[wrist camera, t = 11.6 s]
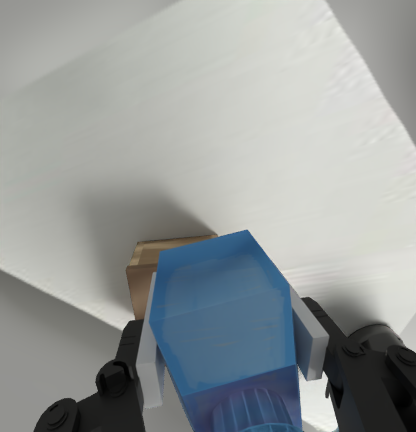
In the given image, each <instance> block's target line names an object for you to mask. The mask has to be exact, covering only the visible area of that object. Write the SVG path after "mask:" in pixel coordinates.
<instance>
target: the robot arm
mask: <svg viewBox="0 0 416 432" xmlns="http://www.w3.org/2000/svg"><path fill="white" fill-rule="evenodd" d="M271 261H272V260H271ZM273 264H274V263H273ZM274 265H275V264H274ZM276 268H277V267H276ZM277 269H278V268H277ZM279 272H280V271H279ZM280 273H281V272H280ZM281 274H282V273H281ZM282 276H283V275H282ZM283 277H284V276H283ZM284 278H285V277H284ZM155 279H156V272H153V275H152V280H151V285H150V291H149V296H148V302H147V307H146V312H145V318H144V319H140V320H132V321H129V322H128V324H127V325H126V326H125V328H124V330H123V333H122V337H121V340H120V344H119V348H118V351H117V354H116V358H115V359H114V360H111V361H109V362H108V363H106V364H105V365H104V366H103V367H102V368H101V369H100V371H99V372H98V374H97V376H96V382H95V383H96V386H97V389H98V392H97V393H95V394H93V395H91V396H90V397H87V398H86V399H83V400H81V401H79V402H77V403H76V401H75V400H73V399H71V398H64V399H61V400H59V401H57V402H55V403H54V404H52V405H51V406H50V407H48V409H47V410H46V411H45V412H44V413H43V414H42V415H41V417H40V419H39V421H38V422H37V424H36V427H35V429H34V432H146V431H145V426H144V421H143V416H142V412H143V404H144V406H145V409H149V408H154V407H160V406H162V405H163V387H164V370H165V362H164V359H163V357H162V354H161V352H160V349H159V347H158V344H157V342H156V339H155V337H154V334H153V332H152V329H151V327H150V325H149V316H150V310H151V304H152V297H153V291H154V285H155ZM286 281H287V280H286ZM287 282H288V281H287ZM289 285H290V284H289ZM290 295H291V305H292V315H293V326H294V336H295V346H296V357H297V364H298V366H299V368H300V370H301V372H302V374H303V375H304V377H305V379H306V381H311V380H317V379H321V378H322V373H323V371H324V372H325V374H326V375H327V377H328V382H327V387H326V392H325V396H326V398H328V397H329V393H330V397H331V401H332V404H333V408H334V412H335V416H336V419H337V423H338V428H337V429H336V430H334V431H332V432H416V353H415V352H414V351H412V350H410V349H408V348H406V346H405V345H404V344H403V341H402V340H401V338H400V337H399V336H398V335H397V334H396V333H395V332H394V331H393V330H392V329H390V328H389V327H387V326H384V325H371V326H367V327H364V328H362V329H360V330H358V331H356V332H355V333H353V334H352V335H351V336H350V337H349V338H347V337H346V336H345V335H344V334H343V333H342V331H341V330H340V329H339V328H338V327H337V325H336V324H335V323H334V322H333V321H332V320H331V318H330V317H329V316H328V315H327V314H326V312H325V311H323V309H322V308H321V307H320V305H319V304H318V303H317V302H316V301H314V300H313V299H311V298H310V297H305V298H300V297H299V296H298V294H297V293H296V292H295V290H294V289H293V288H292V286H291V285H290Z"/></svg>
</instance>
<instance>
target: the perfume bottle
mask: <svg viewBox="0 0 416 432" xmlns="http://www.w3.org/2000/svg"><path fill="white" fill-rule="evenodd" d="M149 325H150V327H151V329H152V332H153V334H154V337H155V339H156V342H157V344H158V347H159V349H160V352H161V354H162V357H163V359H164V362H165V364H166V367H167V369H168V372H169V374H170V377H171V379H172V382H173V384H174V387H175V389H176V392H177V394H178V397H179V399H180V402H181V404H182V407H183V409H184V412H185V414H186V416H187V418H188V420H189V422H190V425H191V427H192V429H193V431H194V432H304V431H302V419H301V405H300V391H299V378H298V367H297V357H296V346H295V336H294V326H293V315H292V305H291V295H290V285H289V283H288V282H287V281H286V279H285V278H284V277H283V276H282V274H281V273H280V272H279V270H278V269H277V268H276V266H275V265H274V264H273V262H272V261H271V260H270V259H269V257H268V256H267V255H266V253H265V252H264V251H263V249H262V248H261V247H260V245H259V244H258V243H257V241H256V240H255V239H254V238H253V236H252V235H251V234H250V232H249V231H248V230H244V231H240V232H236V233H232V234H228V235H224V236H220V237H216V238H212V239H208V240H204V241H200V242H196V243H192V244H188V245H184V246H180V247H176V248H172V249H168V250H164V251H160V254H159V260H158V266H157V272H156V279H155V285H154V291H153V297H152V304H151V310H150V316H149Z"/></svg>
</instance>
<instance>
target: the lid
mask: <svg viewBox="0 0 416 432" xmlns="http://www.w3.org/2000/svg"><path fill="white" fill-rule="evenodd" d="M157 266H158V263H153V264H142V265H130V266H127V268H126V274H127V279H128V284H129V290H130V295H131V300H132V305H133V310H134V315H135V320H140V319H144V318H145V312H146V307H147V302H148V296H149V291H150V285H151V280H152V275H153V272H157ZM165 366H166V364H165Z"/></svg>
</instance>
